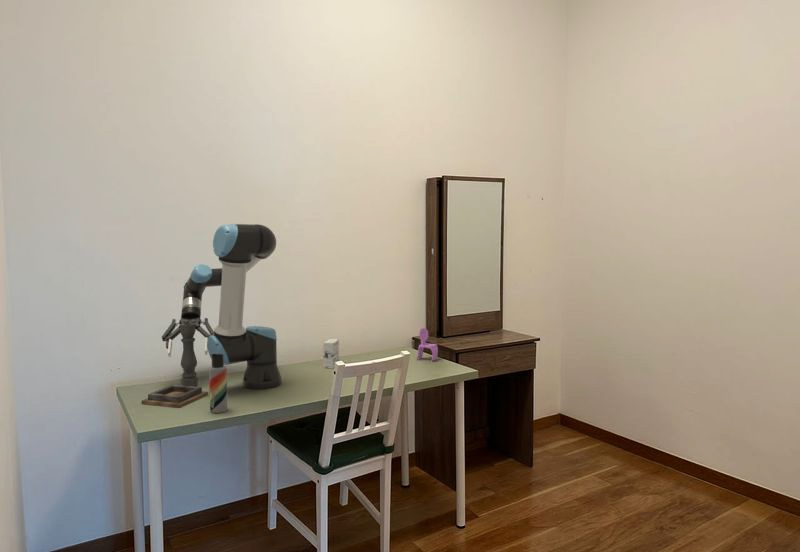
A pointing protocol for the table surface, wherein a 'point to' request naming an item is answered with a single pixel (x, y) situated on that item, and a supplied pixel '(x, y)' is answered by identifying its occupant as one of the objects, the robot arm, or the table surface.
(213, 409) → the lotion bottle
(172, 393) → the socket plate
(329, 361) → the ink box
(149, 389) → the table surface
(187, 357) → the candle holder
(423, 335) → the toy chair
